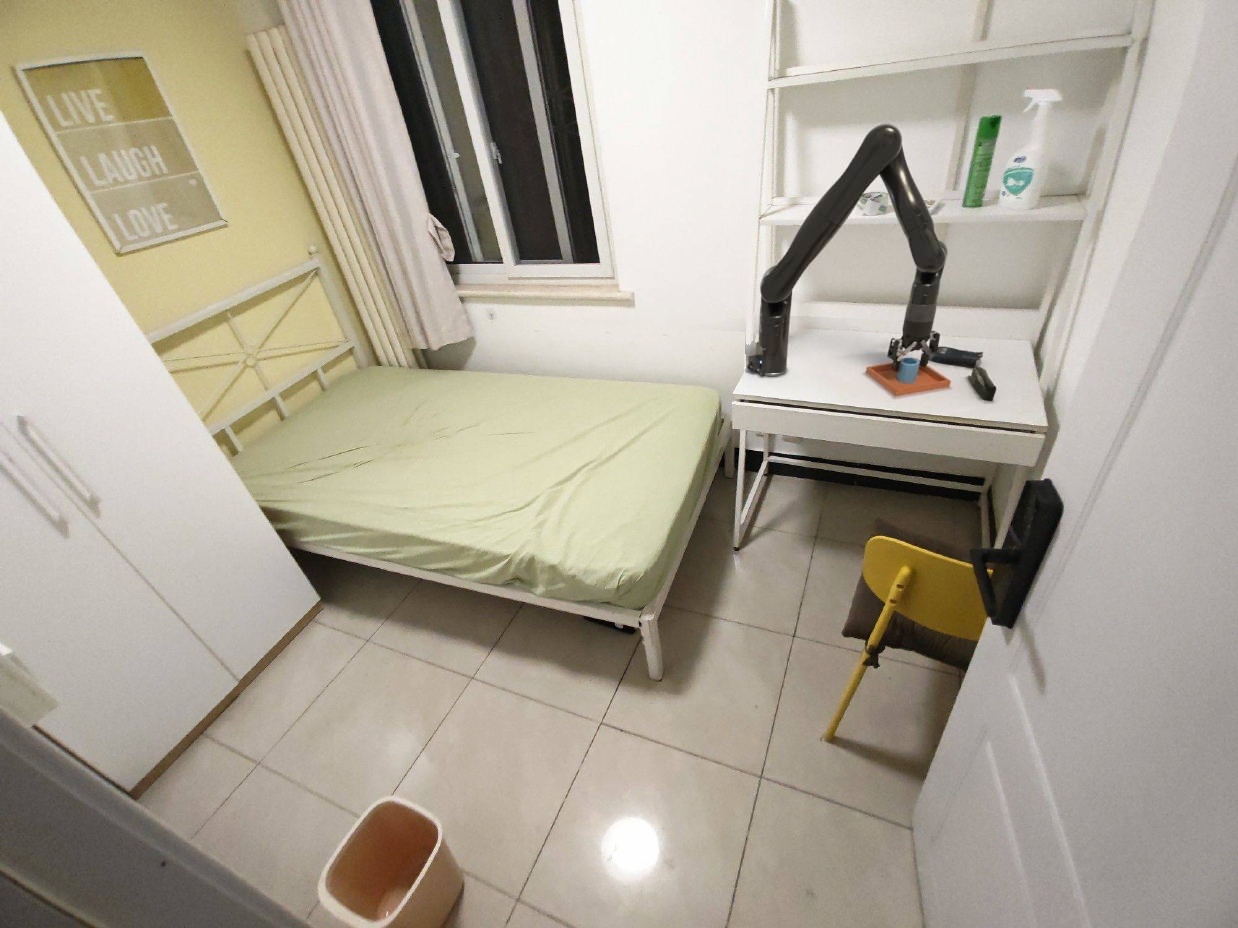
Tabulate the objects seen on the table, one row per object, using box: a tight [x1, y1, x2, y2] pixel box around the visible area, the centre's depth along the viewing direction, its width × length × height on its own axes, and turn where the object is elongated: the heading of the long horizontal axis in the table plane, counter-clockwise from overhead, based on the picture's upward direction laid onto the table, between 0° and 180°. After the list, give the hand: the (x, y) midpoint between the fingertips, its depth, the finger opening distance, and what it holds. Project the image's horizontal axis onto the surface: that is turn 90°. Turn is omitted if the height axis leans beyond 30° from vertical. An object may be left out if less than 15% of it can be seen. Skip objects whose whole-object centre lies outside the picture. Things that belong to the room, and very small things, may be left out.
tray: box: [865, 358, 952, 397], centre depth 169 cm, size 17×17×2 cm
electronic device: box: [929, 345, 984, 369], centre depth 176 cm, size 9×6×15 cm
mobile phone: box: [967, 366, 997, 402], centre depth 159 cm, size 5×3×15 cm
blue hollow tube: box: [897, 357, 920, 383], centre depth 167 cm, size 5×5×6 cm
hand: (909, 368), depth 167 cm, fingers open, 8 cm apart
